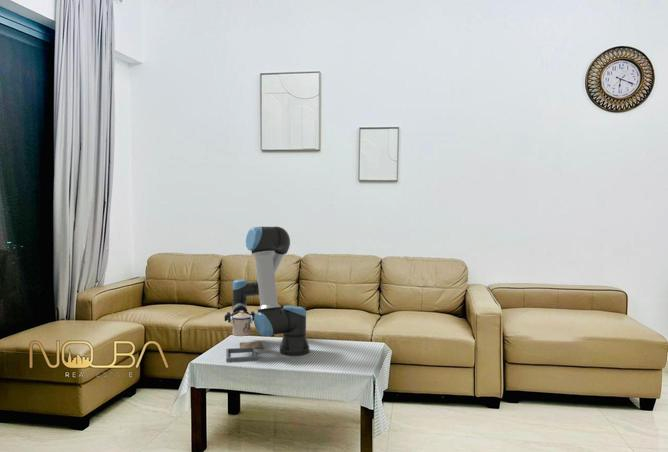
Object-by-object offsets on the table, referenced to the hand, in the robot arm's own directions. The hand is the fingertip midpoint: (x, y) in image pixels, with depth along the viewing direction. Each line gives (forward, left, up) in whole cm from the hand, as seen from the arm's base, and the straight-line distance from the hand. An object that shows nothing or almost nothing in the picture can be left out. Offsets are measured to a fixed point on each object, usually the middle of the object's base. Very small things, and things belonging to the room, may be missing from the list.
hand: (241, 321), depth 243 cm
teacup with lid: (-1, -4, -7) cm, 9 cm away
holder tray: (0, -3, -18) cm, 18 cm away
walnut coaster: (-6, -21, -18) cm, 28 cm away
